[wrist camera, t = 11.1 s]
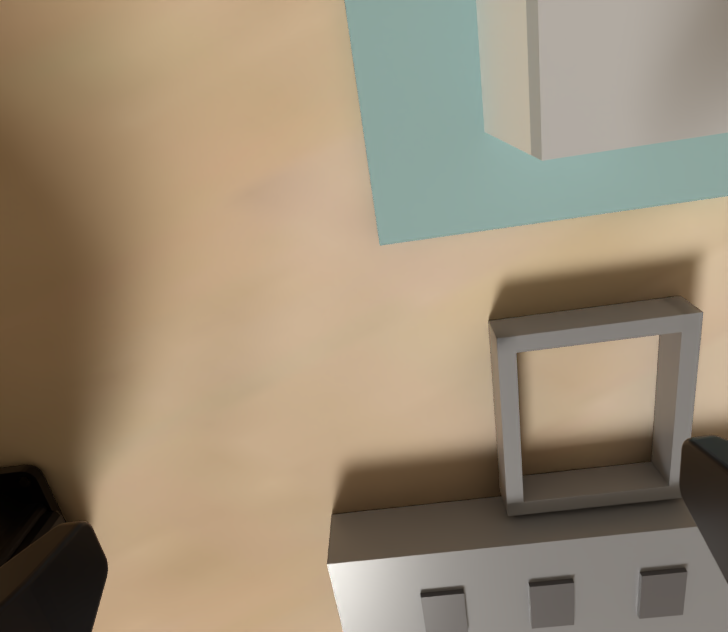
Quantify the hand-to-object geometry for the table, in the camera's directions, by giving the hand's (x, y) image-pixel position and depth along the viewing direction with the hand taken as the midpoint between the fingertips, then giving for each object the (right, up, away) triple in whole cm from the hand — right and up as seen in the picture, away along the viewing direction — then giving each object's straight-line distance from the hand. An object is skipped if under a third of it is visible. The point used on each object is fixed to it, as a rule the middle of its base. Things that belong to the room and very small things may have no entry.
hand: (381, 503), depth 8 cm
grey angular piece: (+8, -3, +13) cm, 16 cm away
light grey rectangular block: (+5, +11, +7) cm, 14 cm away
